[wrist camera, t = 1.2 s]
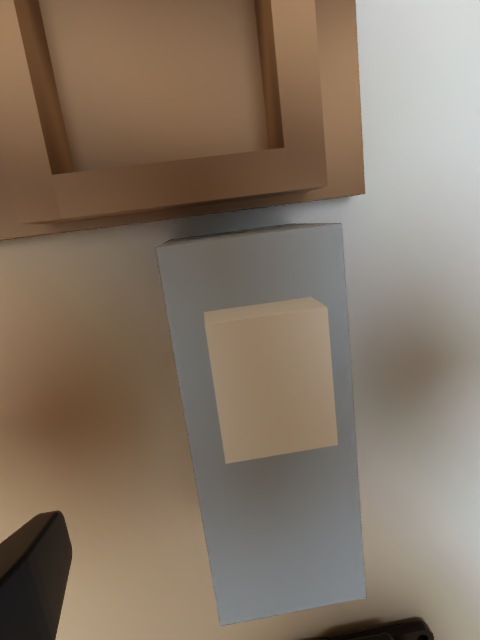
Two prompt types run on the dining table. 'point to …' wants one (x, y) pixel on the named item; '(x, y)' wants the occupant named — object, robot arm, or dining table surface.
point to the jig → (173, 109)
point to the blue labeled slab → (269, 413)
